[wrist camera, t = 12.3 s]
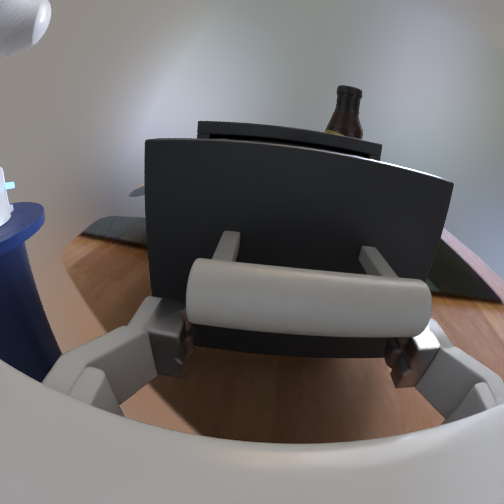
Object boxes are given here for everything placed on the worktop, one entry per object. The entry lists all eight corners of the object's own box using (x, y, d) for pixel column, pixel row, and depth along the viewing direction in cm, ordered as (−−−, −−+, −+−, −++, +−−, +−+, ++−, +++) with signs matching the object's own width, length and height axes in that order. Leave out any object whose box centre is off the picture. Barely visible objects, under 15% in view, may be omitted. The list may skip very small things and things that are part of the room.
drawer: (416, 425, 8) (530, 219, 4) (126, 410, 8) (64, 153, 4) (339, 249, 24) (356, 151, 21) (211, 235, 24) (216, 134, 21)
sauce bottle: (305, 199, 45) (319, 83, 37) (331, 198, 48) (344, 92, 40) (333, 211, 40) (350, 82, 32) (358, 209, 43) (374, 93, 35)
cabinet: (353, 280, 21) (382, 144, 17) (193, 264, 21) (197, 121, 17) (322, 221, 34) (335, 138, 30) (223, 210, 35) (228, 125, 30)
